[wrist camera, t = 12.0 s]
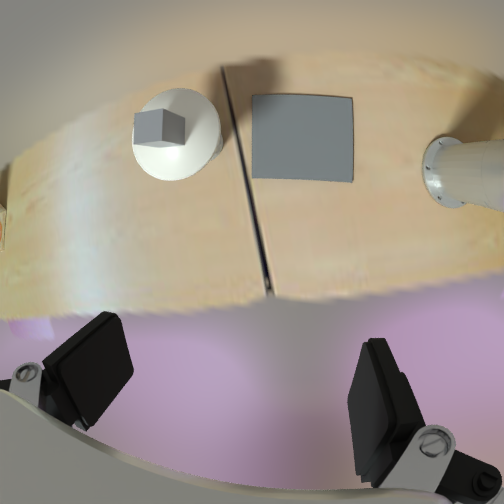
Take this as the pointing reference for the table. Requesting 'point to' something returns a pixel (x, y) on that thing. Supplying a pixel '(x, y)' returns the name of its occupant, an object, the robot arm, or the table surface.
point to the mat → (302, 137)
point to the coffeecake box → (2, 226)
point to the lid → (176, 134)
